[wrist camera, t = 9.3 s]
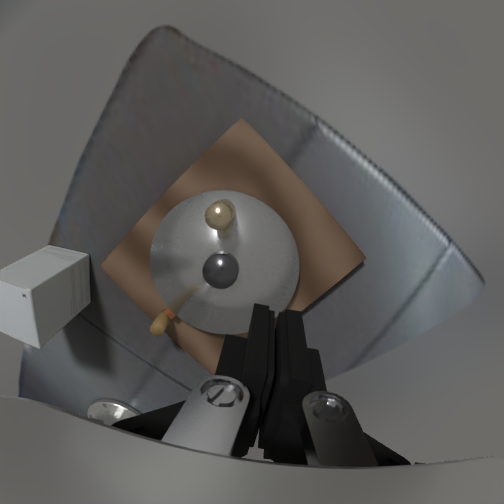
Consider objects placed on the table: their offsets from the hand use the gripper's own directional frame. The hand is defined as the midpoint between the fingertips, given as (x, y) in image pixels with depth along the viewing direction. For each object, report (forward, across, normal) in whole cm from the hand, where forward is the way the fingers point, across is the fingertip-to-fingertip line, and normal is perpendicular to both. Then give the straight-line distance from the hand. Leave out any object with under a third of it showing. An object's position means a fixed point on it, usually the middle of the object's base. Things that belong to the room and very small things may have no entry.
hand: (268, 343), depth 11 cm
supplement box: (+25, +25, +12) cm, 38 cm away
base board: (+25, +4, +6) cm, 26 cm away
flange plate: (+23, +4, +6) cm, 24 cm away
